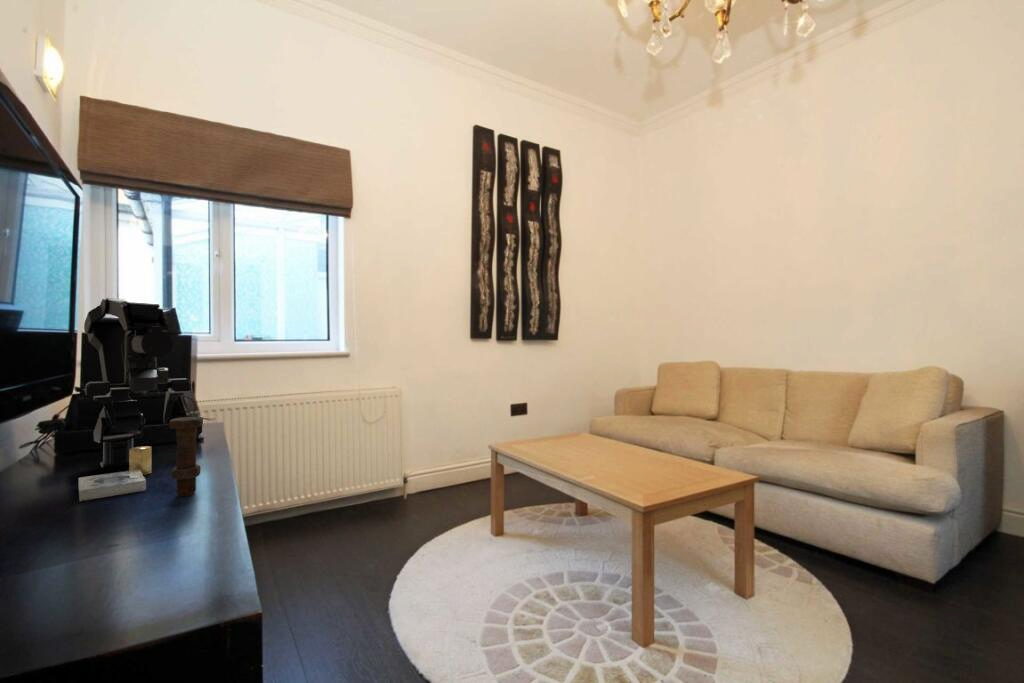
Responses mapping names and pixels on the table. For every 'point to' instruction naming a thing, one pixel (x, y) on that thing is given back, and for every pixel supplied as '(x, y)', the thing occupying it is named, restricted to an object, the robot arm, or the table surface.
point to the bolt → (186, 454)
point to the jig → (111, 484)
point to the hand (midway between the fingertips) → (140, 424)
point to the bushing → (140, 459)
